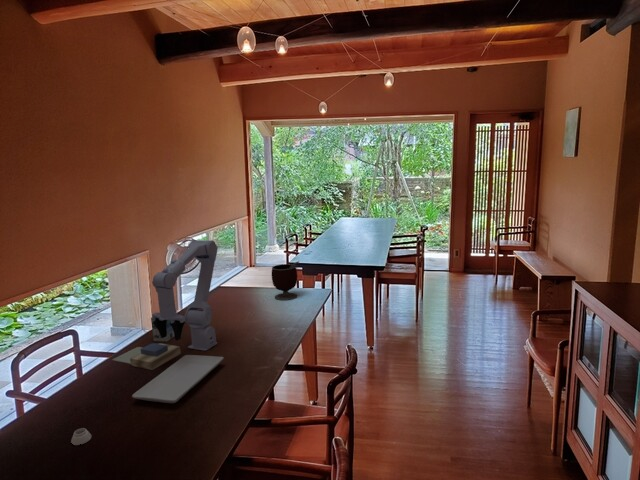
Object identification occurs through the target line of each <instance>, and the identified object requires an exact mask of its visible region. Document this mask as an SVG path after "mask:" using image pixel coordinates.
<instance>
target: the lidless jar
mask: <svg viewBox="0 0 640 480" xmlns="http://www.w3.org/2000/svg"><path fill="white" fill-rule="evenodd" d="M91 439H92V434H91V433H90V431H88V430H87V428H84V427H81V428H78V429H76V430H74V432H73V435H72V437H71V440H70V444H71V443H72V444H73V445H74V446H80V444H81V445H83V444H86V443H87V442H89V441H90V440H91ZM72 444H71V445H72Z"/></svg>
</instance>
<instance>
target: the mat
mask: <svg viewBox="0 0 640 480" xmlns="http://www.w3.org/2000/svg"><path fill="white" fill-rule="evenodd" d="M142 348H143V347H142V346H136V347H135V348H132V349H131V350H129V351H127V352H124V353H123V354H120V355H119V356H116V357H114V358H112V359H111V361H113V362H118V363H124V364H128V365H131V362H130V358H132V357H134V356H136V355H137V354H139V353H141V349H142Z"/></svg>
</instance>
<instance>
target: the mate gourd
mask: <svg viewBox="0 0 640 480" xmlns="http://www.w3.org/2000/svg"><path fill="white" fill-rule="evenodd" d="M297 264H300V261H299V260H298V261H296V262H293V263H284V264H283V263H282V264H276V265H273V266H272V267H271V281H272V285H273V286H274V288H275V289H276V290H278V291H281V292H282V293H278V294H276V295H275V296H274V299H275V300H276V301H282V302H283V301H284V302H285V301H291V300H295V299H297V297H298V294H297V293H294V292H289V291H291V290H293V289H294V288H295V287H296V286H297V283H298V270H297V267H296V265H297Z"/></svg>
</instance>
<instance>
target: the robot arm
mask: <svg viewBox="0 0 640 480" xmlns="http://www.w3.org/2000/svg"><path fill="white" fill-rule="evenodd" d="M217 254H218V246H217V244H216V241H214V240H212V239H211V240H202V239H201V240H200V239H198V240H197V239H194V240H192V241H191V242H190V243H189V244H188V248H187V249H186V250H185V251H184V252H183V253H182V255H181V256H180V257H179V258H178V259H172V260H171V261H170V262H169V264H168V265H167V266H166V267H164V268H163V270H162V271H161V272H156V274H155V275H154V276H153V278H152V281H151V282H152V286H153V287H154V289H155V292H156V293H157V301H158V306H159V307H158V309H159V312H154V313H152V314H151V316H152V317H151V318H153V319H156V320H155V321H153V324H154V325H155V326H156V327H157V329H158V331H159V333H160V336H161V338H164V337H166V336H167V329H166V325H167V320H170V321H175V322H174V323H171V326H172V328H173V331H174V340H175V341H178V340H181V338H182V332H183V328H184V326H185V323H186V324H188V327H189V329H190V336H191V337H190V338H191V344H190V345H188V346H187V349H193V350H199V351H204V352H205V351H208V350H209V349H211V348H213V347H214V346H216V345H218V342H217V336H216V329H215V327H214V326H211V322H212V318H213V315H212V312H213V311H212V310H213V308H212V307H211V305H209V303H208V301H209V300H208V299H209V296H210V290H211V285H212V280H213V273H214V269H215V263H216V260H217ZM193 259H196V260H197V261H199V262H200V268H199V273H198V278H197V284H196V287H195V288H196V290H195V295H194V300H193V301H192V302H191V303H189V304H188V307H187V310H186V312H185V314H184V315H181V314H179V313H178V312H177V313H176V311H177V309H176V300H175V291H174V287H175V286H176V282H177V281H178V278H179V277H180V276H181V275H182V274H183V273H184V272H185V270H186V266H187V265H188V264H189V263H190V262H192V260H193Z"/></svg>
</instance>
